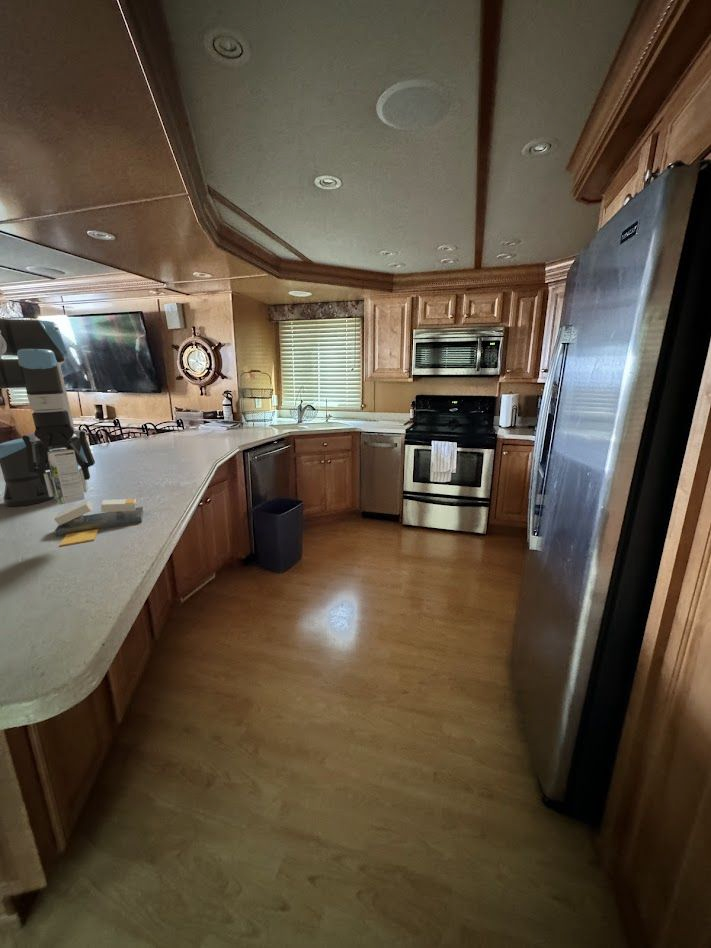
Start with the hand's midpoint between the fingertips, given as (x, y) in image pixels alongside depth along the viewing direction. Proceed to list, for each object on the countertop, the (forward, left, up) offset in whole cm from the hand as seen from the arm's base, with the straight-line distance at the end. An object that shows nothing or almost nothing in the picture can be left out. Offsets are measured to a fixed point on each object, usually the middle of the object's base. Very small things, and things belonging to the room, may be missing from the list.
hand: (69, 493), depth 105 cm
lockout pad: (0, 0, -14) cm, 14 cm away
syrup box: (0, 0, -2) cm, 2 cm away
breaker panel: (-10, +4, -14) cm, 17 cm away
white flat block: (-10, -2, -10) cm, 14 cm away
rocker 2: (-10, +9, -10) cm, 17 cm away
